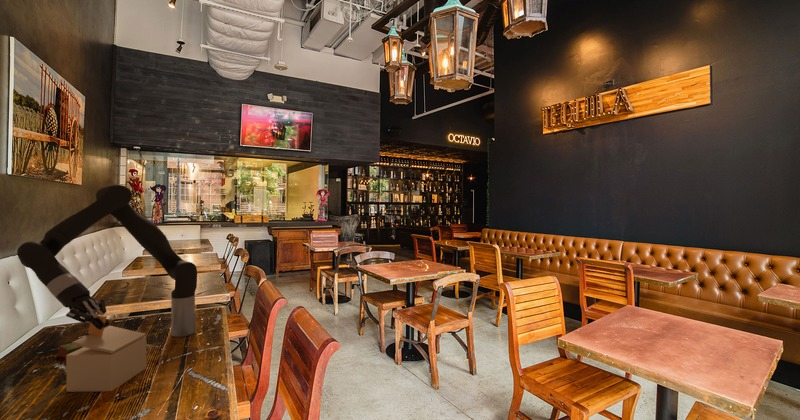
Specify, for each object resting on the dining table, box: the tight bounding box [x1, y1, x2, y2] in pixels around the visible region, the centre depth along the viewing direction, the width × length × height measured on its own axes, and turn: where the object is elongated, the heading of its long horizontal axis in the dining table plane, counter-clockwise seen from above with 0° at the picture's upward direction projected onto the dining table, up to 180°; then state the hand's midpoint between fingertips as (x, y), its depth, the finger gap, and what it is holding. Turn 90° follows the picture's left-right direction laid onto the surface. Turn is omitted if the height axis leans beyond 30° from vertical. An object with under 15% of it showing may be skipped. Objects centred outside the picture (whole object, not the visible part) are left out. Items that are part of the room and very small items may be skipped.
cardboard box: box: [65, 335, 147, 393], centre depth 121 cm, size 14×16×12 cm
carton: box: [58, 342, 83, 360], centre depth 144 cm, size 8×16×4 cm, turn 152°
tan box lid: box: [71, 313, 147, 353], centre depth 121 cm, size 14×15×7 cm
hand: (104, 326), depth 121 cm, fingers closed
